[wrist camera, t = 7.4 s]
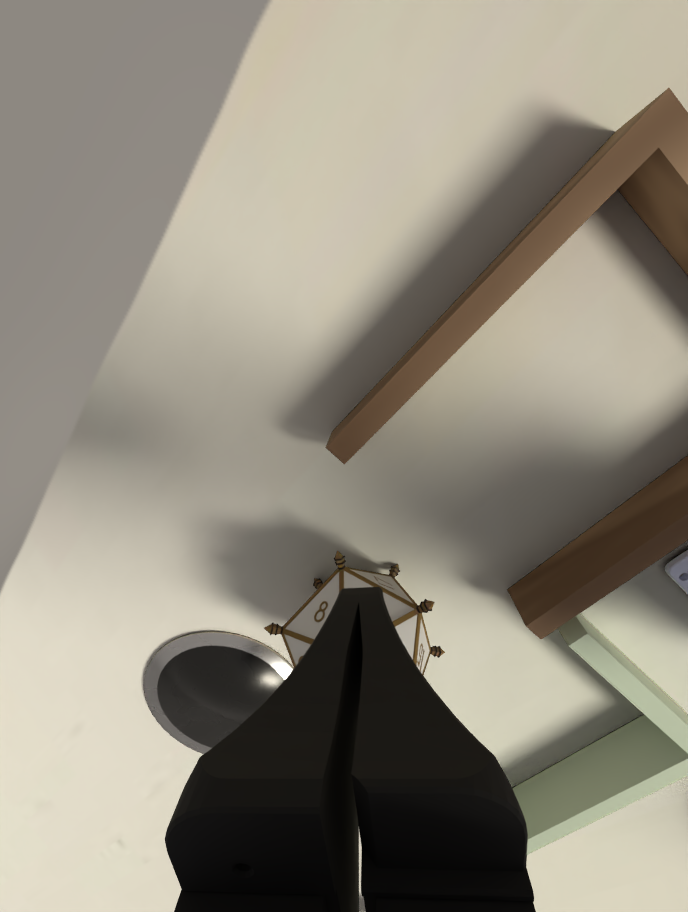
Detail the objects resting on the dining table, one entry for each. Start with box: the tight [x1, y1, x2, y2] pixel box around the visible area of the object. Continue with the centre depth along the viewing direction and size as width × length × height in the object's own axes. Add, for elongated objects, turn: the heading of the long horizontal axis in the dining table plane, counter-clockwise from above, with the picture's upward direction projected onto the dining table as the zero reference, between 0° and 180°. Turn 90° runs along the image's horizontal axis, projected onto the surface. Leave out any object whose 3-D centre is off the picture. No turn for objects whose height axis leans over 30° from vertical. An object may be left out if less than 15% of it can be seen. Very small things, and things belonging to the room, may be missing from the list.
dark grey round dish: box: [144, 631, 294, 754], centre depth 27 cm, size 12×12×1 cm
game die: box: [264, 551, 445, 675], centre depth 20 cm, size 9×8×10 cm
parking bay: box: [512, 613, 688, 855], centre depth 25 cm, size 12×16×3 cm
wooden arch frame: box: [326, 88, 688, 639], centre depth 18 cm, size 15×18×3 cm
